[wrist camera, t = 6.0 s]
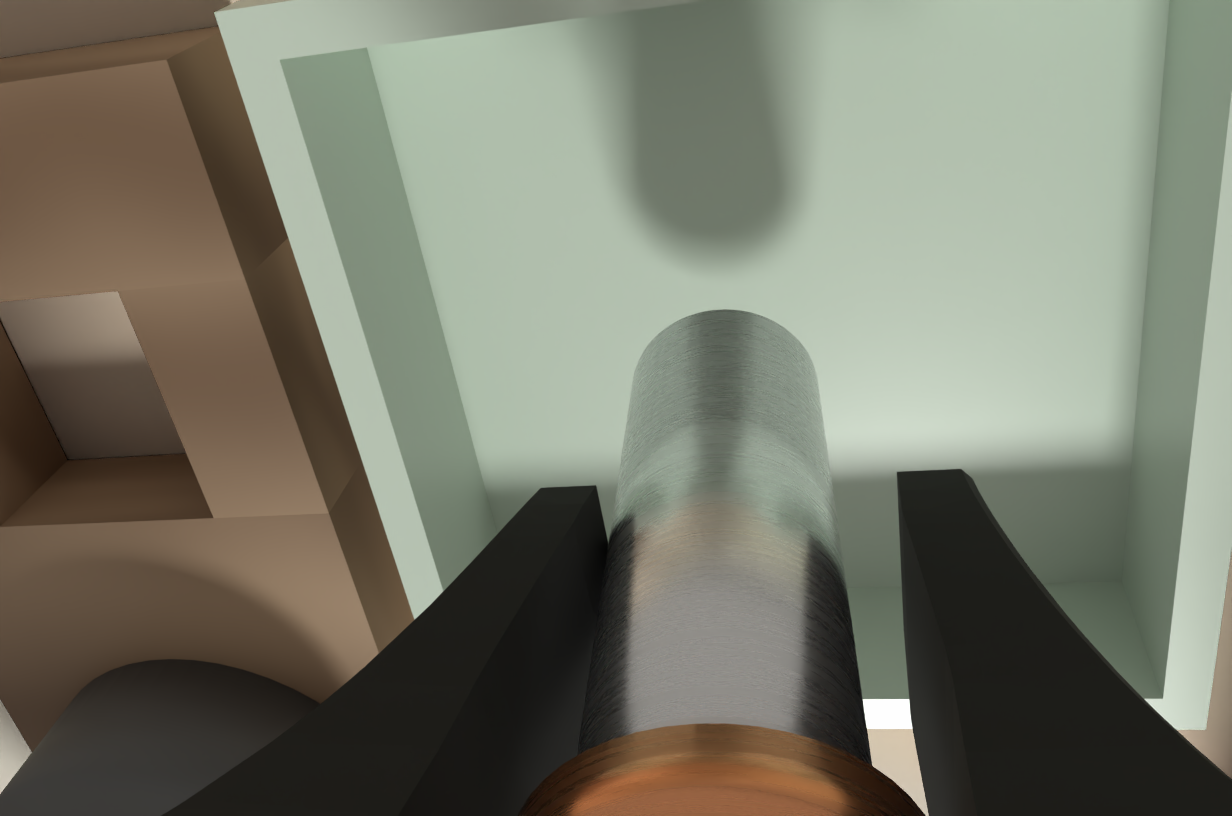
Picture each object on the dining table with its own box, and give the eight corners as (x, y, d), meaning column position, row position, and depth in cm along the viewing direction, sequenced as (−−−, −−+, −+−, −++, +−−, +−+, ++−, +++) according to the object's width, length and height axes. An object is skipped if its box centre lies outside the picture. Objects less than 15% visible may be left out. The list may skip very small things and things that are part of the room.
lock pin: (856, 484, 15) (964, 1108, 8) (622, 503, 15) (538, 1107, 9) (842, 265, 13) (963, 812, 7) (582, 294, 14) (440, 832, 7)
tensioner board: (507, 863, 24) (434, 1129, 20) (183, 852, 26) (45, 1095, 22) (237, 23, 16) (-12, 149, 11) (-227, 92, 17) (-612, 227, 13)
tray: (1152, 589, 18) (1205, 729, 16) (495, 603, 20) (449, 727, 18) (1229, -181, 13) (1332, -157, 10) (316, -36, 15) (214, 11, 12)
